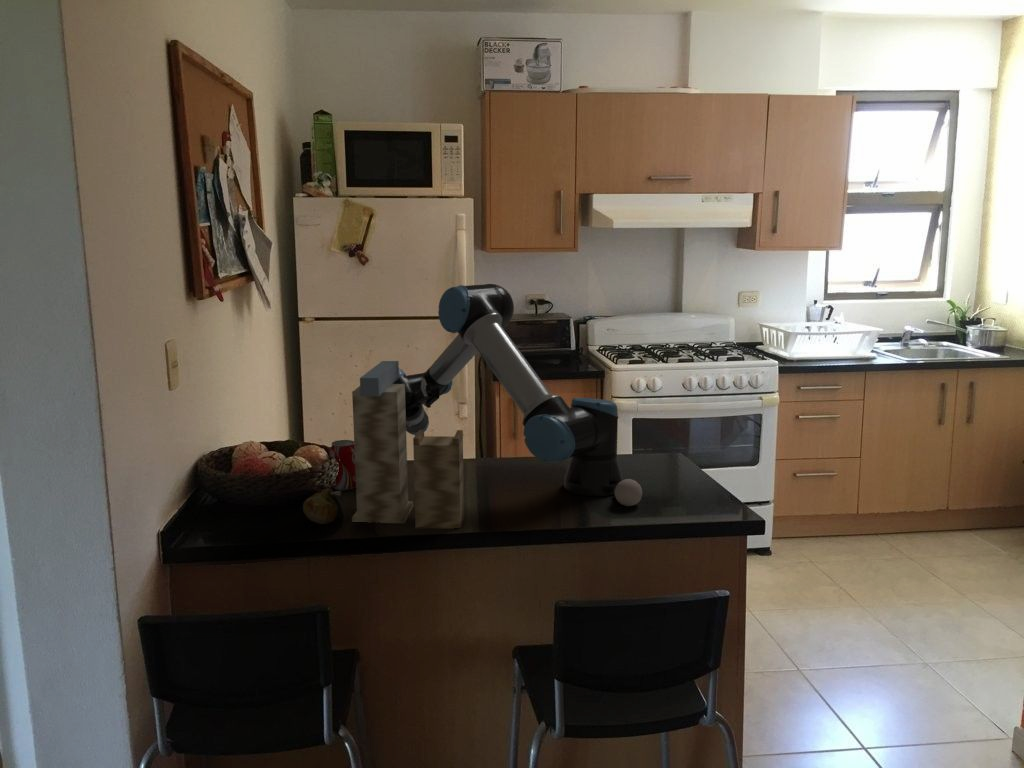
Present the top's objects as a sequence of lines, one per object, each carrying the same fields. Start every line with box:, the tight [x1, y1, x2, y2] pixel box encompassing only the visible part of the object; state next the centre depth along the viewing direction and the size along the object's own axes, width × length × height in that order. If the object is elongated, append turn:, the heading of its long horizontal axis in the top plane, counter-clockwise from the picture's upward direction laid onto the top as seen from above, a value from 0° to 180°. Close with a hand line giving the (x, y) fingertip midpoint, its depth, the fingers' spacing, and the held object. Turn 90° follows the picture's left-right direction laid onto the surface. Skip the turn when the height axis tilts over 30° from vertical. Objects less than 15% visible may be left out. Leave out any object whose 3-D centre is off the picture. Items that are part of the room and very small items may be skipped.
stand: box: [351, 384, 414, 524], centre depth 192 cm, size 12×12×30 cm
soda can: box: [329, 439, 356, 492], centre depth 214 cm, size 7×7×12 cm
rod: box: [359, 360, 400, 396], centre depth 191 cm, size 4×24×4 cm, turn 177°
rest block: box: [412, 429, 465, 529], centre depth 187 cm, size 10×8×20 cm
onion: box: [302, 488, 342, 525], centre depth 189 cm, size 8×8×8 cm
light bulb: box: [613, 478, 643, 507], centre depth 202 cm, size 7×7×11 cm
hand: (395, 382), depth 210 cm, fingers open, 13 cm apart
